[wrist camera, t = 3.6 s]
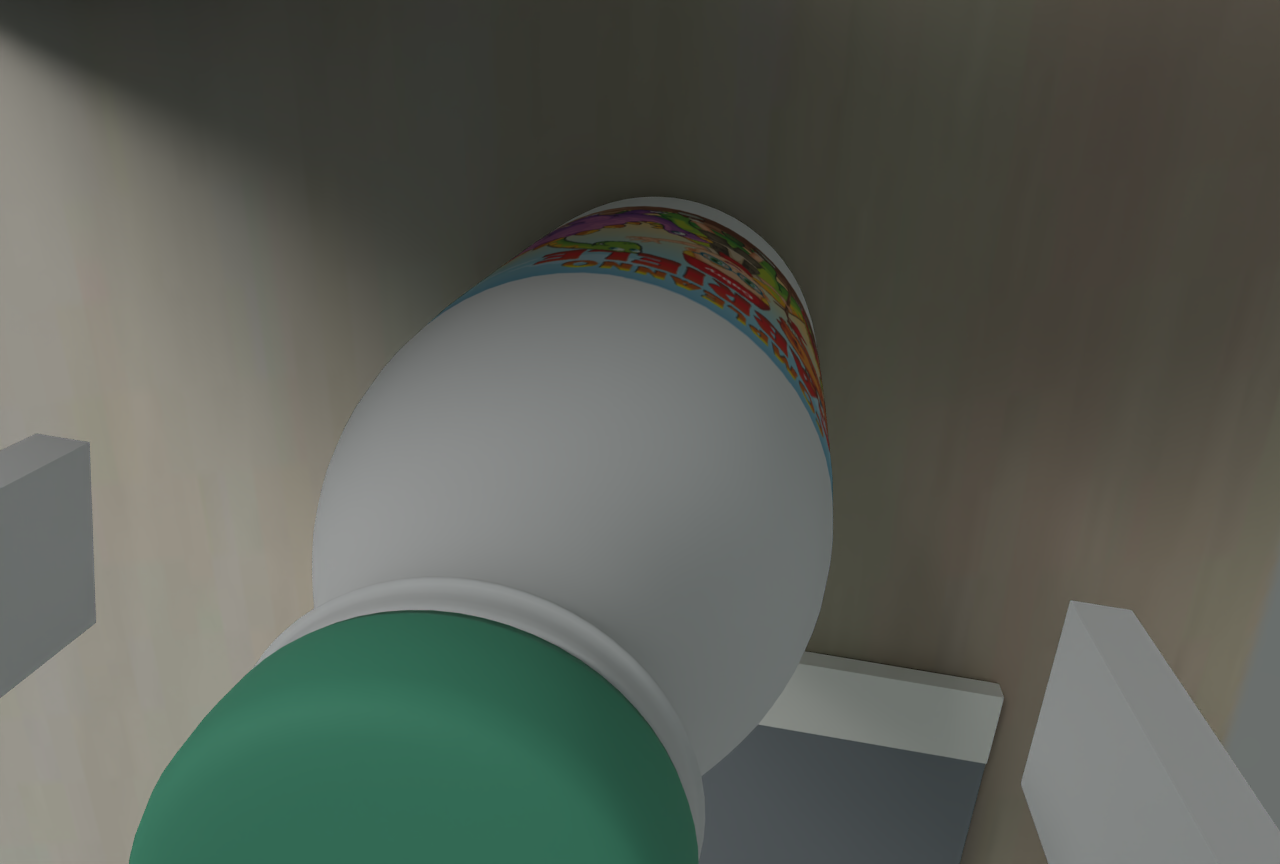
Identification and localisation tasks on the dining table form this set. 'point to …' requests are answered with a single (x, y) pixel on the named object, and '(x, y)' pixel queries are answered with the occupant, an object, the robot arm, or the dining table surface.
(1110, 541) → the dining table surface
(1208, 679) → the dining table surface
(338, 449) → the milk bottle
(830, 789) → the mat
